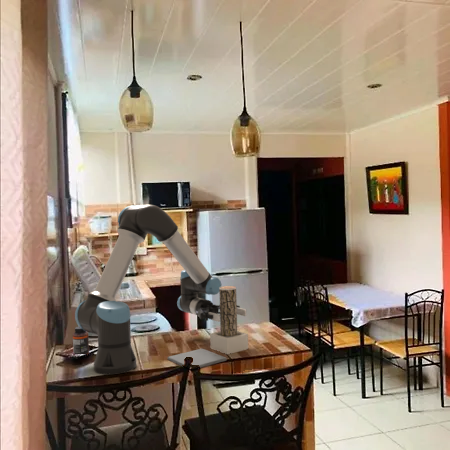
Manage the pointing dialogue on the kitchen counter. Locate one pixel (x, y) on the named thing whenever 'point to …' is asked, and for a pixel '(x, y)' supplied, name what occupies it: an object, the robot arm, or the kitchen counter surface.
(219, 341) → the box
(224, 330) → the bark pattern cylinder
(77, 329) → the supplement bottle
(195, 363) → the mat
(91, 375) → the kitchen counter surface
